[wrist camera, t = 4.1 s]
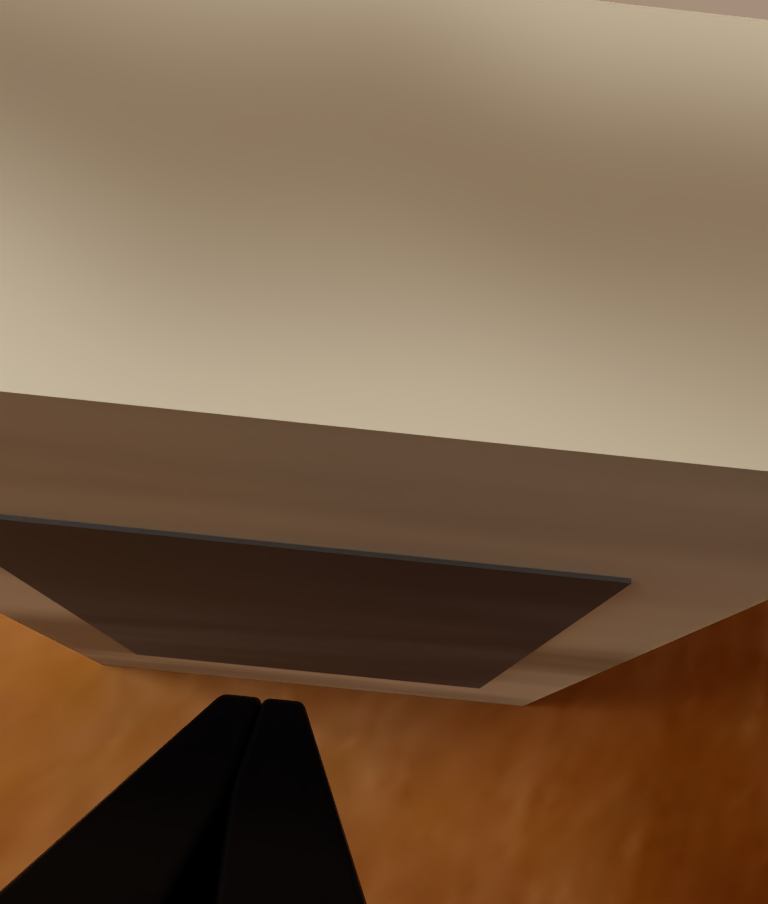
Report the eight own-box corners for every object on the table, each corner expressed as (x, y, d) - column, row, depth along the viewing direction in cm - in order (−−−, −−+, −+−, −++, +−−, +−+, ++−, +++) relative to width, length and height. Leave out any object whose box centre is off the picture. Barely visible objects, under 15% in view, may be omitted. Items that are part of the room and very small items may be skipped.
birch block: (522, 708, 16) (1007, 502, 4) (101, 666, 16) (-554, 340, 4) (522, 510, 18) (841, 27, 7) (152, 472, 18) (-183, -88, 6)
